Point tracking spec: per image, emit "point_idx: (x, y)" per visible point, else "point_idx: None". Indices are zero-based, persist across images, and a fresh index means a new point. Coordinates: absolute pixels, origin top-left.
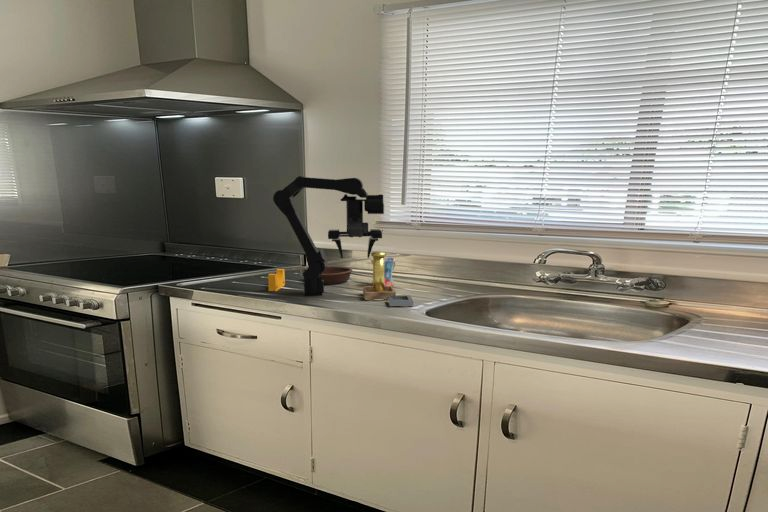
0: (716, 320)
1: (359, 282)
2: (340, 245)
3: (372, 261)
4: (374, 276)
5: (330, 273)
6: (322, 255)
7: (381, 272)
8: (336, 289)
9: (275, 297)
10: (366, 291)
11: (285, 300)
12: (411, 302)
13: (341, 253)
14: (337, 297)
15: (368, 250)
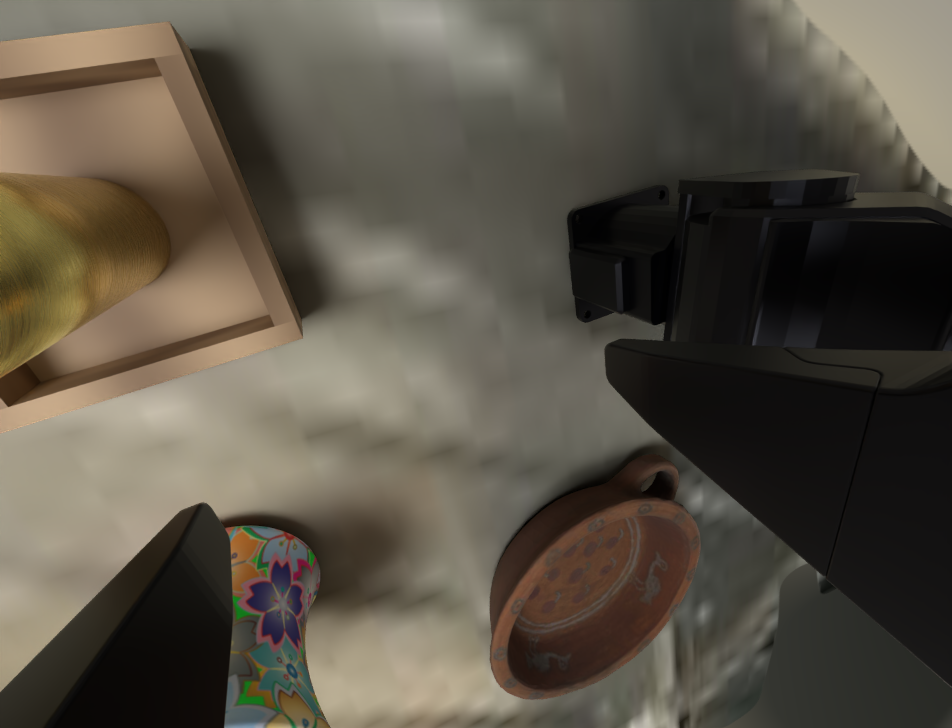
0: None
1: (423, 598)
2: (867, 381)
3: (305, 714)
4: (32, 193)
5: (591, 631)
6: (855, 294)
7: None
8: (511, 403)
9: (783, 134)
10: (173, 93)
11: (743, 48)
12: None
13: (680, 348)
14: (461, 173)
15: (117, 624)
